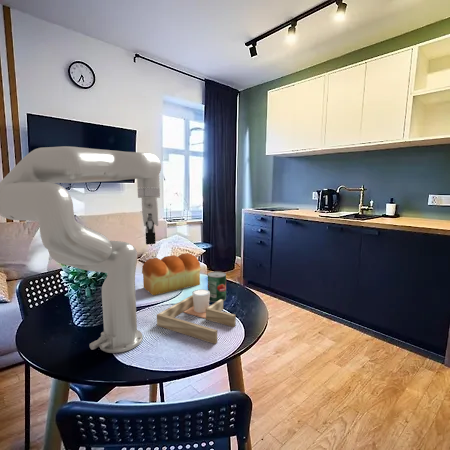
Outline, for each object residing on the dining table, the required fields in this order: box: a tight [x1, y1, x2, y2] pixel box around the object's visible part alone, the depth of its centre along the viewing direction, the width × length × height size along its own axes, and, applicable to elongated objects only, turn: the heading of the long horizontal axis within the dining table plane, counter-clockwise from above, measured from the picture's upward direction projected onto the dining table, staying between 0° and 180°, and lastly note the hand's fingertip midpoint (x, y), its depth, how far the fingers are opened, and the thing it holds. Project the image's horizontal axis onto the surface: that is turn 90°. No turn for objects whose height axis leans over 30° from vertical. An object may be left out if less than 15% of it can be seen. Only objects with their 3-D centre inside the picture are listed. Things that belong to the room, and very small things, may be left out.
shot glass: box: [191, 288, 210, 313], centre depth 110 cm, size 7×7×7 cm
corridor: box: [156, 294, 237, 345], centre depth 102 cm, size 23×24×4 cm
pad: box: [183, 304, 212, 320], centre depth 110 cm, size 10×10×1 cm
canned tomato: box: [207, 271, 227, 303], centre depth 121 cm, size 8×8×11 cm
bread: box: [141, 252, 202, 296], centre depth 136 cm, size 25×12×15 cm, turn 126°
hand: (150, 241), depth 101 cm, fingers open, 9 cm apart
